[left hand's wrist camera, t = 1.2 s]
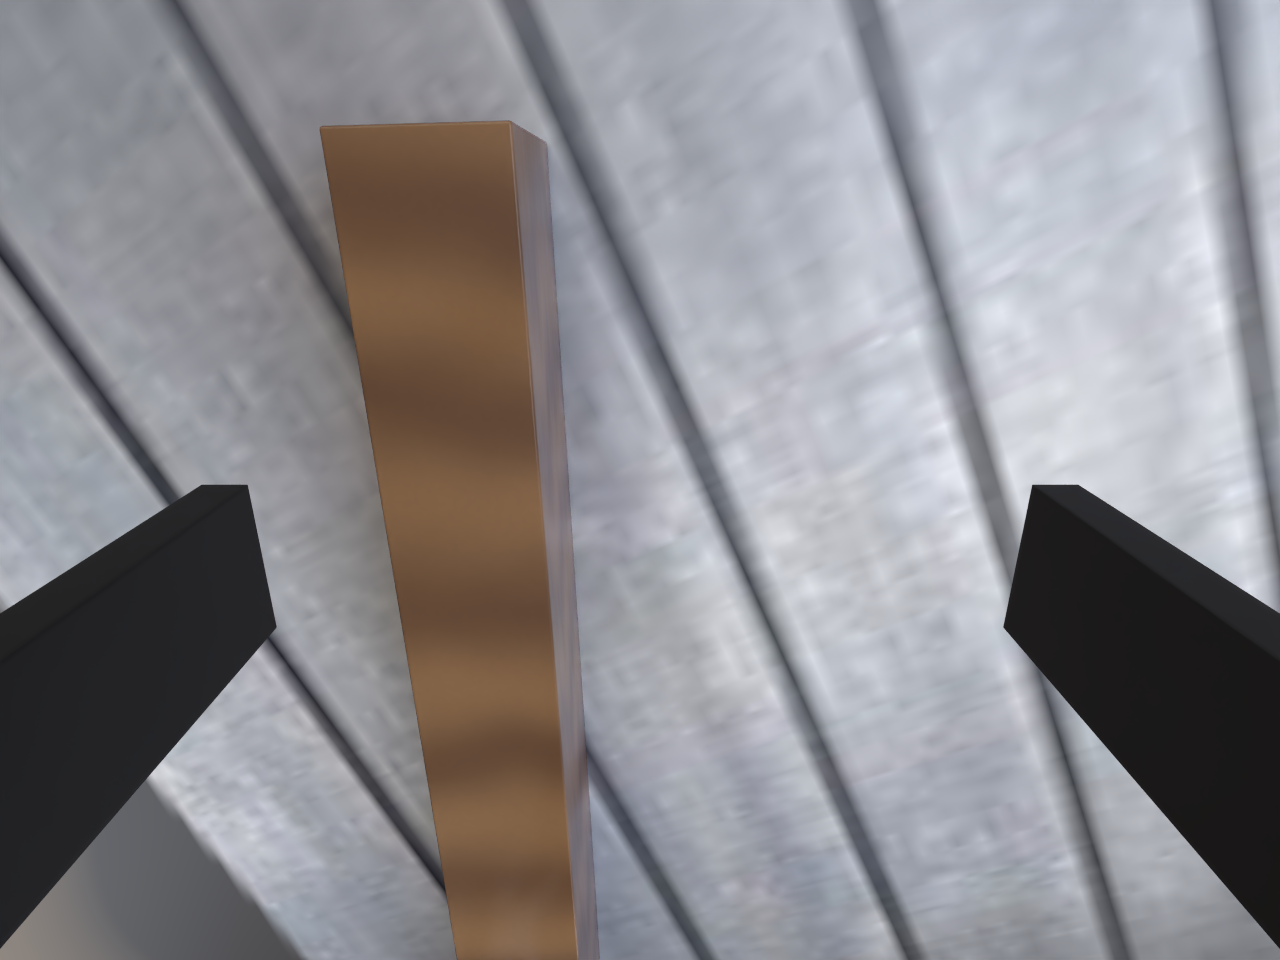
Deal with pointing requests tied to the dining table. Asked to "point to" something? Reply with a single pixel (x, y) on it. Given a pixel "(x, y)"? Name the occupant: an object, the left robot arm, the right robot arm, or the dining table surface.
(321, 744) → the dining table surface
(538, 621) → the bar
